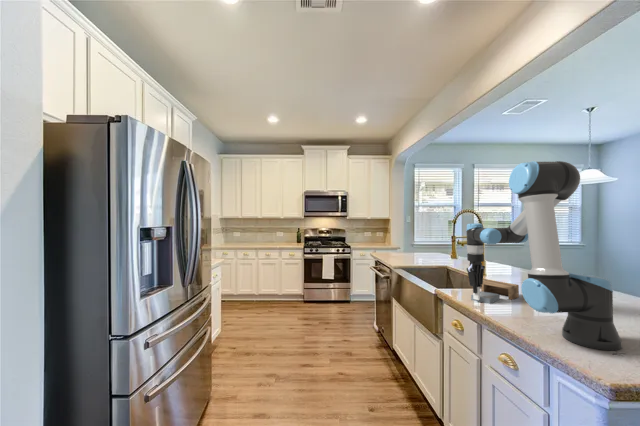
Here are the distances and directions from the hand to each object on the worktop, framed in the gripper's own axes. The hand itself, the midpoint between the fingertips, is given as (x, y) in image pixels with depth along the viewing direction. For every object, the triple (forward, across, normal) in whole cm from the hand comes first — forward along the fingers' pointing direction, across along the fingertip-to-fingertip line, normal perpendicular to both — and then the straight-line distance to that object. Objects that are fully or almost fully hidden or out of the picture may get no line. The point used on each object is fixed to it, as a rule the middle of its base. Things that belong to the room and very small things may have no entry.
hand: (476, 299), depth 146 cm
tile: (+2, +8, 0) cm, 8 cm away
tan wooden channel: (+2, +22, 0) cm, 22 cm away
